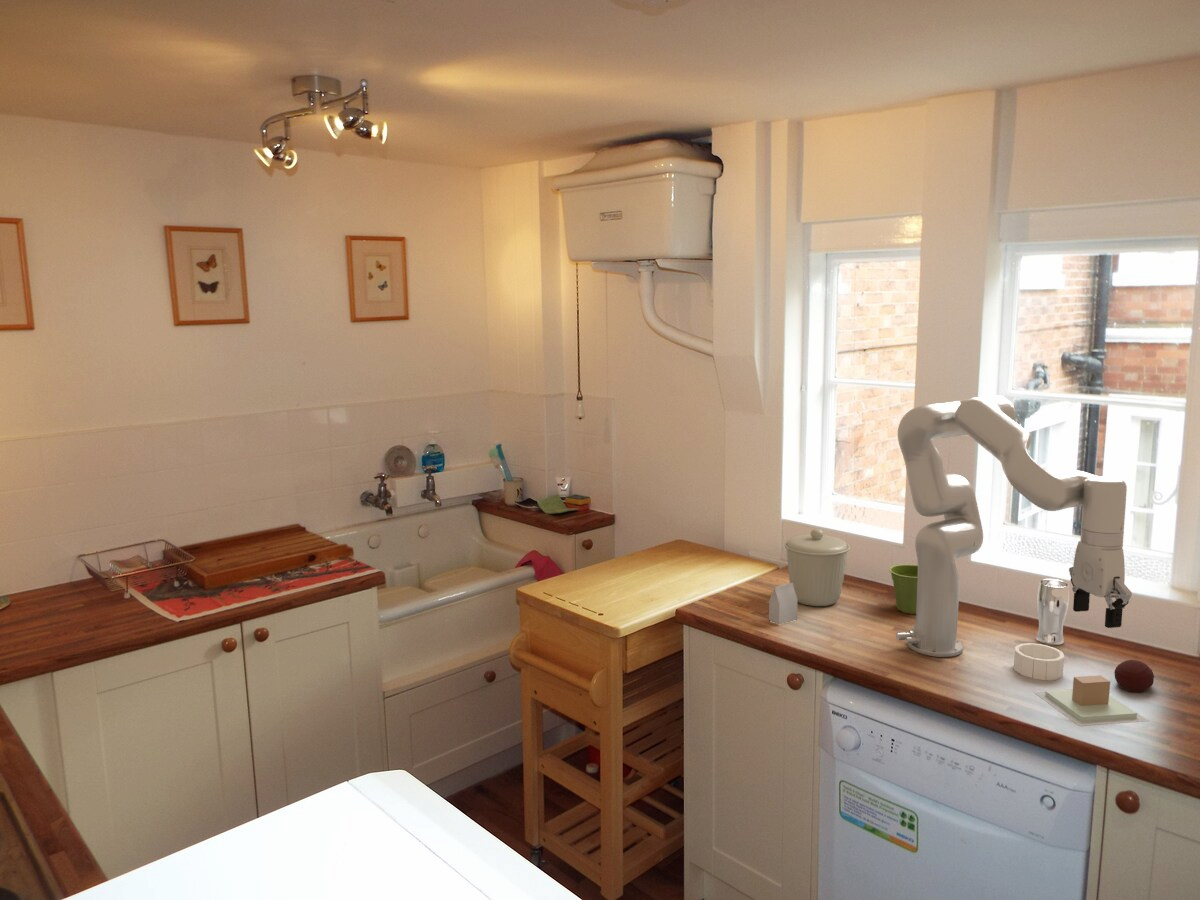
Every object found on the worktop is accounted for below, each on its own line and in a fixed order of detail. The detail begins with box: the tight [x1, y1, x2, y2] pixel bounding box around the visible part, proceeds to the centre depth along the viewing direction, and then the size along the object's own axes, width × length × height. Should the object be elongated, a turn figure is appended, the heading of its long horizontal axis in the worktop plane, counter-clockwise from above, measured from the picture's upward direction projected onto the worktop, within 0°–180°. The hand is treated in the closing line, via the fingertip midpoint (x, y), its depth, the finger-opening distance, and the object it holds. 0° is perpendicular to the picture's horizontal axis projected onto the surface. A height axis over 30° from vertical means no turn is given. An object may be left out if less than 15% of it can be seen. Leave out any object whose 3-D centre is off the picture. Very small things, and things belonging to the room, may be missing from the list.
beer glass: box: [1035, 578, 1070, 646], centre depth 218 cm, size 7×7×15 cm
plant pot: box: [888, 564, 918, 615], centre depth 241 cm, size 12×12×11 cm
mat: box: [1034, 691, 1149, 727], centre depth 183 cm, size 15×15×1 cm
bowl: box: [1013, 642, 1065, 681], centre depth 200 cm, size 10×10×5 cm
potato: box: [1114, 659, 1155, 693], centre depth 192 cm, size 7×10×6 cm
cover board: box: [1044, 674, 1138, 722], centre depth 183 cm, size 12×12×6 cm
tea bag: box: [768, 582, 798, 624], centre depth 234 cm, size 4×7×10 cm, turn 124°
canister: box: [783, 528, 851, 607], centre depth 248 cm, size 18×18×21 cm
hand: (1096, 618), depth 181 cm, fingers open, 9 cm apart
